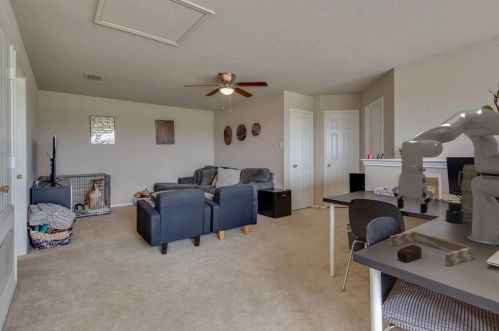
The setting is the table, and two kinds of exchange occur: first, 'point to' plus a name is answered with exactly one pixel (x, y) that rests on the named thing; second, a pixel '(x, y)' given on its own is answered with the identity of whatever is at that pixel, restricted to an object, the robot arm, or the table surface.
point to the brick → (409, 253)
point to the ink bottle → (455, 213)
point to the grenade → (467, 189)
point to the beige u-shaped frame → (436, 246)
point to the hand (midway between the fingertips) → (411, 210)
